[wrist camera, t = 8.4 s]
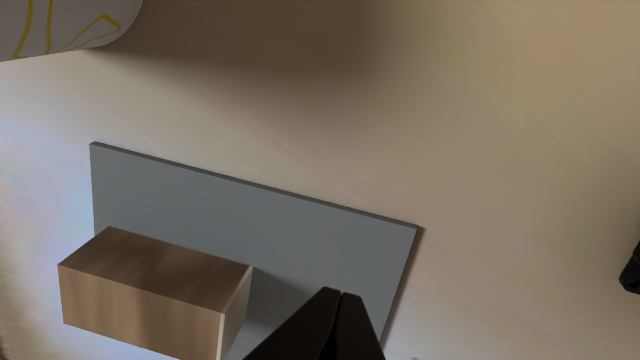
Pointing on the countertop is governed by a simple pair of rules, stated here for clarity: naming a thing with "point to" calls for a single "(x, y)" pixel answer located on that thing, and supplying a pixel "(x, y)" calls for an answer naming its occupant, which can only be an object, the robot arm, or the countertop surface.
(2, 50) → the cup
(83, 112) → the countertop surface
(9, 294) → the countertop surface
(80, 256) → the walnut block
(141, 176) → the mat
